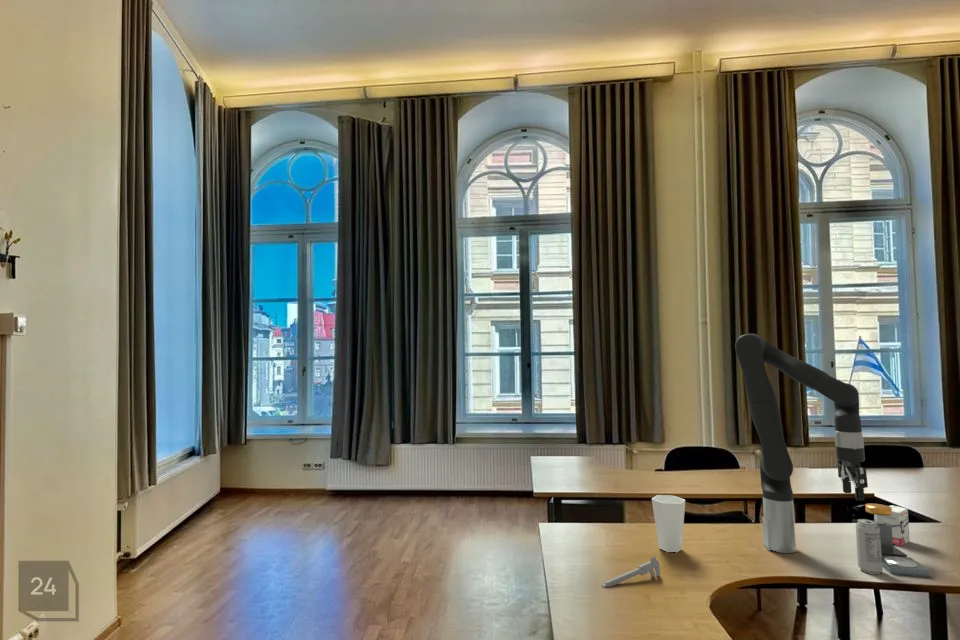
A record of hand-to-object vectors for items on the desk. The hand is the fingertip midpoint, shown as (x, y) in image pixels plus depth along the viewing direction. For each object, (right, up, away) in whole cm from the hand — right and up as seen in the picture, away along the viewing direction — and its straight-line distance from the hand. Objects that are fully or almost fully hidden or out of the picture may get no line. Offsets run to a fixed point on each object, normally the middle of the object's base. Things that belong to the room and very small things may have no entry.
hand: (853, 496), depth 163 cm
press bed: (+11, -21, -5) cm, 24 cm away
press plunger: (+14, -15, +7) cm, 22 cm away
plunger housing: (+14, -22, +7) cm, 27 cm away
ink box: (+29, -23, +18) cm, 41 cm away
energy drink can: (+1, -21, -6) cm, 22 cm away
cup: (-54, -23, +13) cm, 60 cm away
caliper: (-75, -22, -11) cm, 79 cm away
